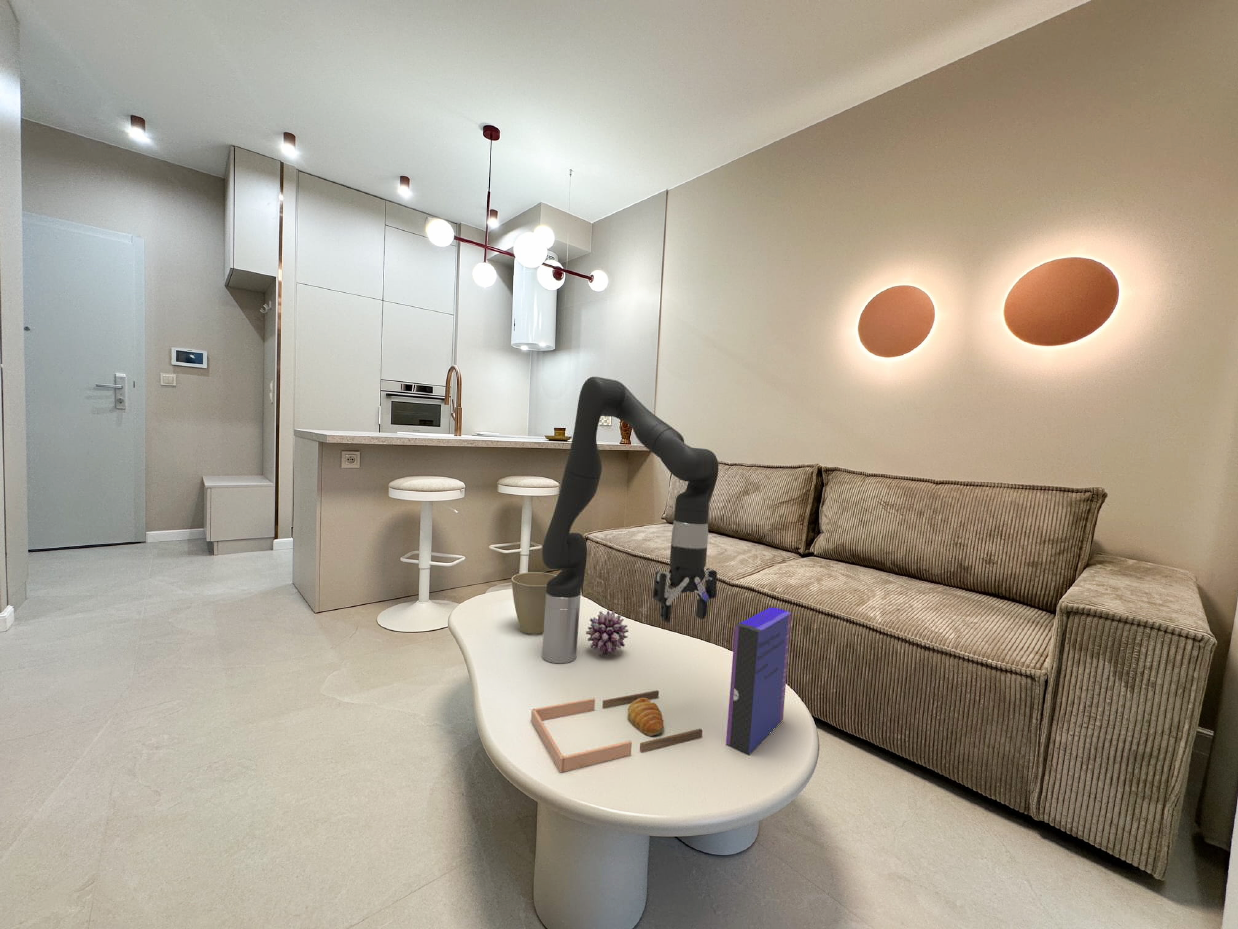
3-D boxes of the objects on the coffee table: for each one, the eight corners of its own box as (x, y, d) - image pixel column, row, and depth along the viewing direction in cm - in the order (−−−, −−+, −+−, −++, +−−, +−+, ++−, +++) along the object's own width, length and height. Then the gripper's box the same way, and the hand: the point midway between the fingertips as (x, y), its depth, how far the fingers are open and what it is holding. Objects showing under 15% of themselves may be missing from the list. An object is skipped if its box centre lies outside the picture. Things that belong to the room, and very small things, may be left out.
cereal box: (761, 712, 110) (770, 606, 109) (782, 720, 107) (791, 611, 106) (725, 744, 97) (735, 624, 96) (748, 755, 94) (758, 631, 93)
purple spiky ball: (628, 647, 141) (631, 606, 141) (624, 665, 129) (628, 620, 129) (588, 643, 142) (591, 602, 142) (581, 660, 130) (584, 615, 130)
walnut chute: (602, 707, 107) (602, 700, 107) (657, 696, 114) (657, 690, 114) (641, 752, 92) (641, 744, 92) (701, 737, 98) (702, 730, 98)
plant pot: (503, 624, 153) (506, 573, 152) (549, 620, 159) (552, 571, 159) (514, 642, 139) (518, 586, 139) (564, 637, 145) (568, 583, 145)
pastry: (671, 735, 99) (672, 717, 99) (640, 741, 96) (642, 722, 96) (652, 711, 107) (653, 694, 107) (623, 715, 105) (624, 698, 105)
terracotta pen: (530, 721, 100) (531, 709, 100) (593, 709, 106) (594, 698, 106) (560, 772, 85) (561, 759, 85) (630, 755, 91) (631, 742, 91)
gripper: (706, 539, 109) (701, 611, 110) (650, 540, 103) (645, 616, 103) (727, 546, 102) (721, 623, 103) (669, 547, 96) (663, 629, 97)
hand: (683, 619), depth 103 cm, fingers open, 8 cm apart
